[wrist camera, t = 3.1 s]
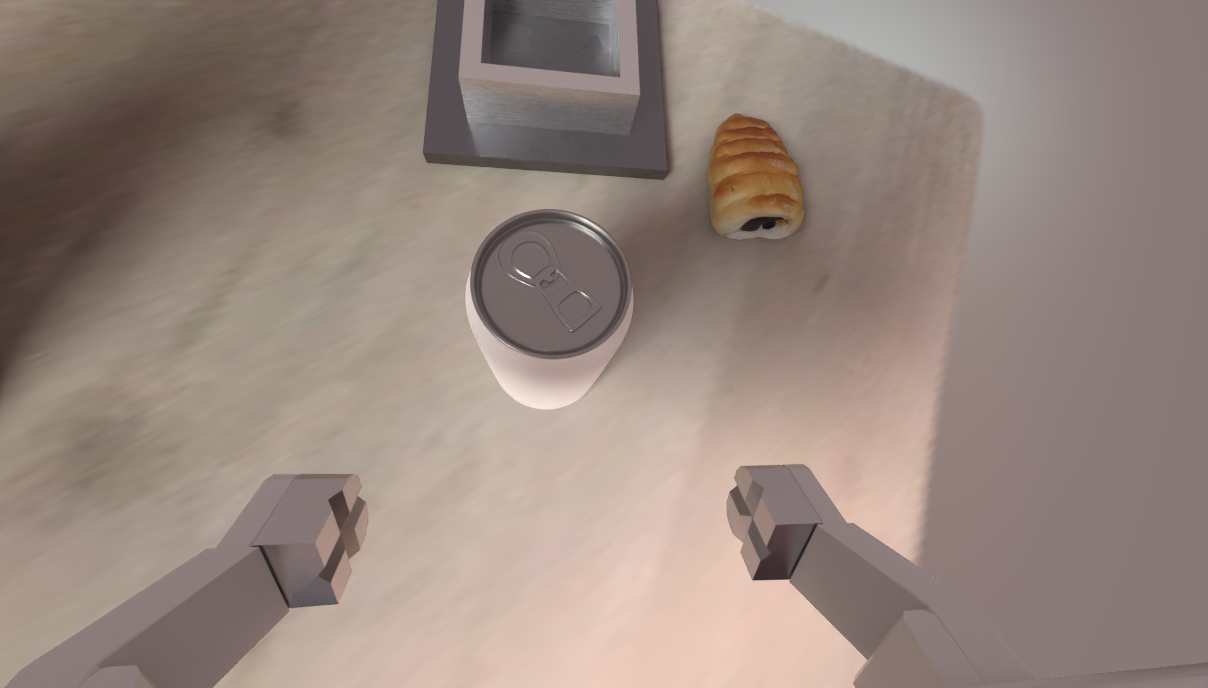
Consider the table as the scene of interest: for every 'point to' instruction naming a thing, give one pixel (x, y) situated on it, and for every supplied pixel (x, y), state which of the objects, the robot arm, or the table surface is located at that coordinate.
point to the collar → (548, 87)
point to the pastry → (752, 182)
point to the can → (549, 305)
